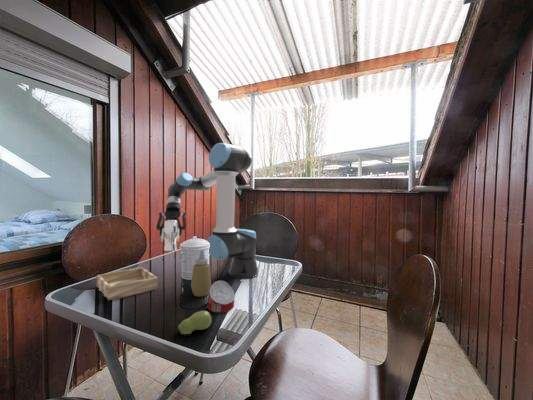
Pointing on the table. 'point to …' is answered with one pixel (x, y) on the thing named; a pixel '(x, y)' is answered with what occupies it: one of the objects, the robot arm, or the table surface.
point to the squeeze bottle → (201, 276)
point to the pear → (195, 322)
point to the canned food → (220, 297)
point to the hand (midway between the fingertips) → (170, 240)
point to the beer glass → (170, 234)
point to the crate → (126, 283)
